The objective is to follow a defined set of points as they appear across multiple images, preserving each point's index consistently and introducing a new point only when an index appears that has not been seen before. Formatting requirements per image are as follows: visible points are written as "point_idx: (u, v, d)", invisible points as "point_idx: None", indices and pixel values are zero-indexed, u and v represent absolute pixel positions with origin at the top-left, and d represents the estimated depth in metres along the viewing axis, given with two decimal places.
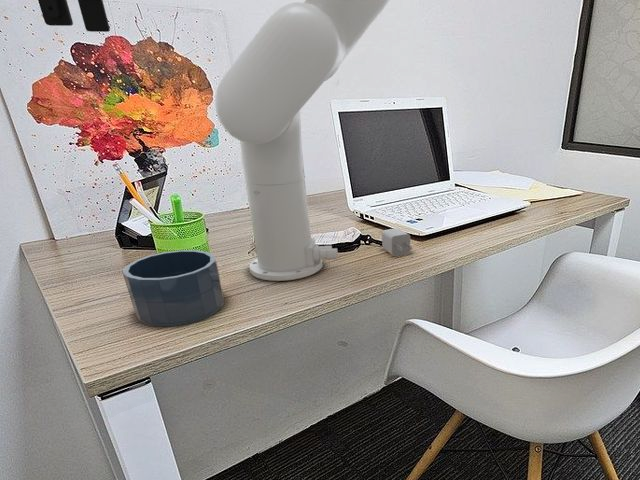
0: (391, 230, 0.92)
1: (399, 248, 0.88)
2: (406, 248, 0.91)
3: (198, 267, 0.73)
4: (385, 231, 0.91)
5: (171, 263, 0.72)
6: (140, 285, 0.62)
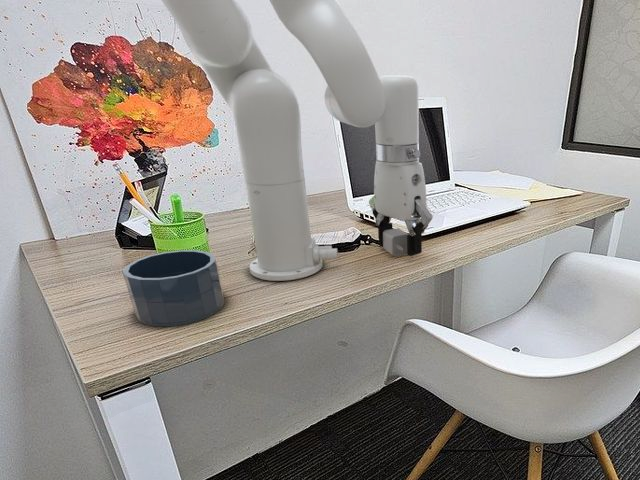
0: (392, 230, 0.91)
1: (400, 248, 0.88)
2: None
3: (198, 267, 0.73)
4: (386, 231, 0.91)
5: (171, 263, 0.72)
6: (140, 285, 0.62)
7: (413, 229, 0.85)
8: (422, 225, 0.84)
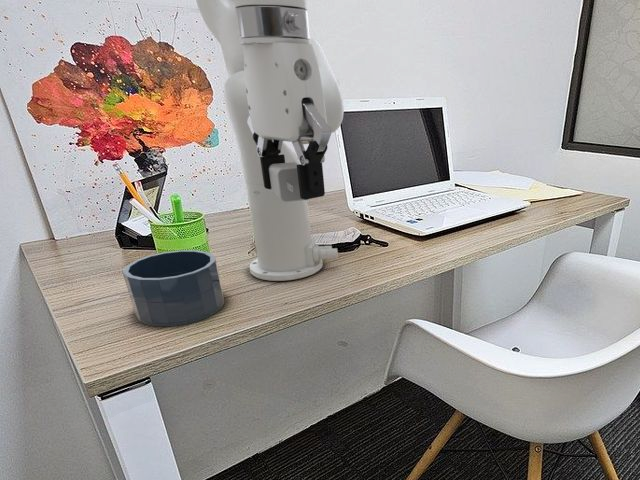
0: (282, 164, 0.60)
1: (290, 188, 0.57)
2: None
3: (198, 267, 0.73)
4: (273, 165, 0.60)
5: (171, 263, 0.72)
6: (140, 285, 0.62)
7: (304, 154, 0.54)
8: (316, 145, 0.52)
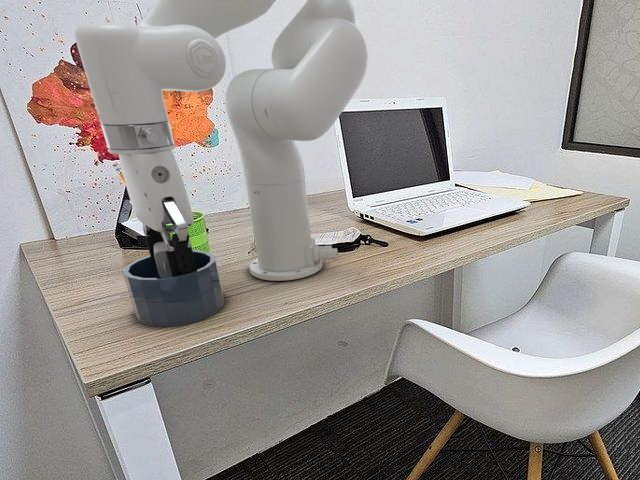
0: None
1: None
2: None
3: (198, 267, 0.73)
4: (156, 244, 0.68)
5: None
6: (140, 285, 0.62)
7: (169, 243, 0.61)
8: (177, 238, 0.60)
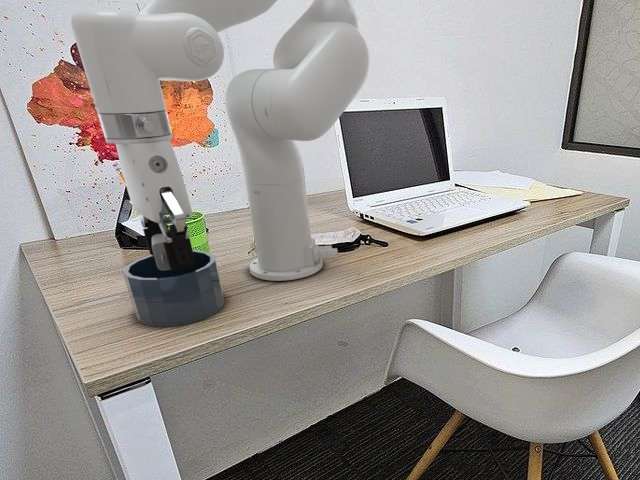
0: None
1: (162, 260, 0.64)
2: None
3: (198, 267, 0.73)
4: (154, 236, 0.67)
5: None
6: (140, 285, 0.62)
7: (167, 234, 0.61)
8: (174, 228, 0.59)
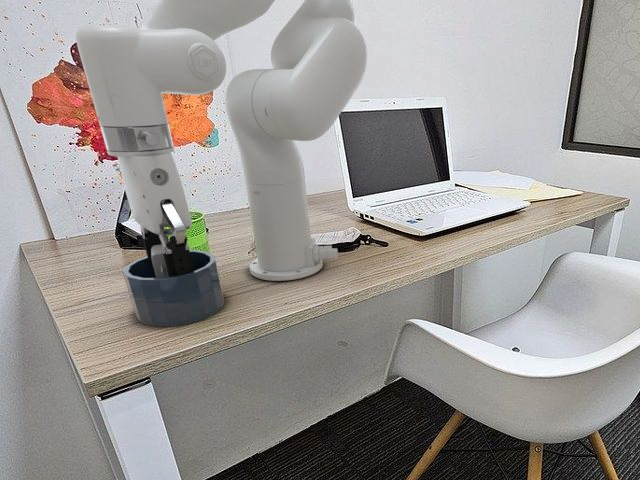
0: (162, 245, 0.68)
1: None
2: None
3: (198, 267, 0.73)
4: (153, 247, 0.68)
5: None
6: (140, 285, 0.62)
7: (167, 245, 0.61)
8: (174, 240, 0.60)
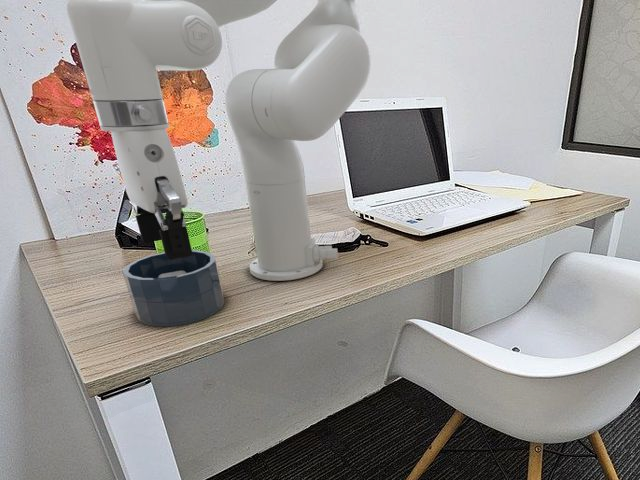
0: (169, 274, 0.70)
1: None
2: None
3: (198, 267, 0.73)
4: (160, 276, 0.70)
5: (171, 263, 0.72)
6: (140, 285, 0.62)
7: (163, 221, 0.59)
8: (170, 214, 0.58)
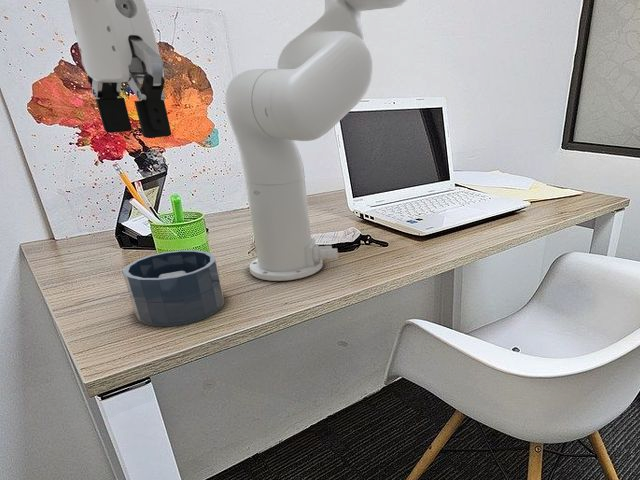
0: (169, 274, 0.70)
1: None
2: None
3: (198, 267, 0.73)
4: (160, 276, 0.70)
5: (171, 263, 0.72)
6: (140, 285, 0.62)
7: (140, 88, 0.53)
8: (150, 77, 0.52)
